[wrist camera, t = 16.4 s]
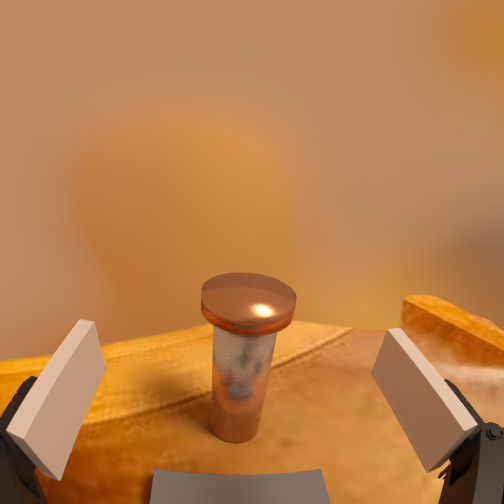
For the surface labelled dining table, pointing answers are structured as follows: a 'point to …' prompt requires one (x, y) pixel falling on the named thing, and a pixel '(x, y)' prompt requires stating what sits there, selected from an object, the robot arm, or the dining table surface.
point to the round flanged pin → (243, 346)
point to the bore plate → (238, 488)
